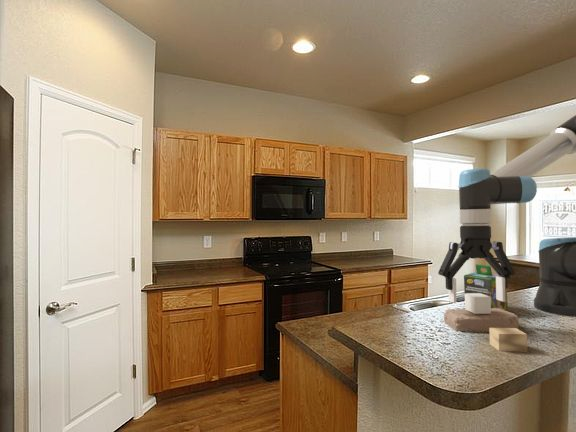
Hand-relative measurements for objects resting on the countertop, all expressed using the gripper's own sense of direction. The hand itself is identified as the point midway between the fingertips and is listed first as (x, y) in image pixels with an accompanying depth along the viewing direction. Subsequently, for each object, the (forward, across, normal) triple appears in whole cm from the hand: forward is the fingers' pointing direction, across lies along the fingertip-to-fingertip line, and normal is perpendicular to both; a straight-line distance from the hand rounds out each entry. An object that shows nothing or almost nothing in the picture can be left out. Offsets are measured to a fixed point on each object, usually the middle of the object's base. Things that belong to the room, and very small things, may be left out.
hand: (476, 301), depth 90 cm
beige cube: (+3, 0, 0) cm, 3 cm away
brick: (+8, 0, 0) cm, 8 cm away
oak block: (+7, +2, +15) cm, 17 cm away
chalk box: (+7, -12, -15) cm, 21 cm away
